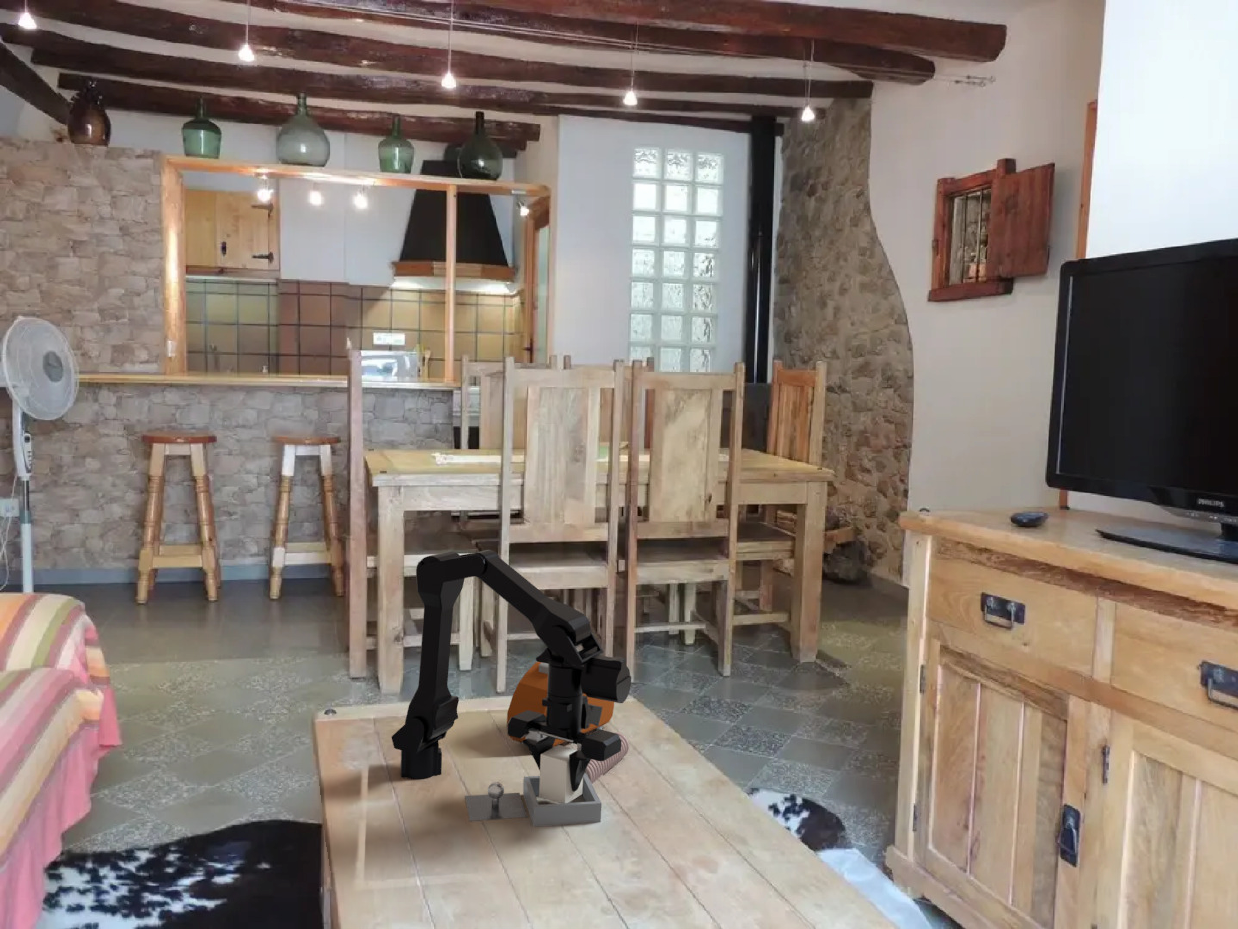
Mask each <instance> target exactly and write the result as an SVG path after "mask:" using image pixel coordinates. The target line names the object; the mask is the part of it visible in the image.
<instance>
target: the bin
mask: <svg viewBox="0 0 1238 929" xmlns="http://www.w3.org/2000/svg"><path fill="white" fill-rule="evenodd" d="M539 785H540V775H530V776H523V785H522V796H523V798H524V801H525V802H524V803H525V805H526V807H527V811H528V814H529V817H530V820H531V823H532V827H548V826H563V825H564V826H565V825H575V824H591V823H593V824H594V823H601V820H602V800H600V797H599V795H598V793H597V792H596V789H595V787H594V785H593V783H591V781H590V780H589V778H588V775H587V772H585V773H584V775H583V787H582V794H581V795H582V796H583V799H584V800H585V801H580V802H579V801H577V802H576V801H575V802H569V803H561V804H560V803H549V804H539V802H538V798H537V797H539Z"/></svg>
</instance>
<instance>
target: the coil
mask: <svg viewBox="0 0 1238 929" xmlns="http://www.w3.org/2000/svg"><path fill="white" fill-rule="evenodd" d="M615 733H616V734H618V735H619V737H620V738H621V751H620V752H618V753H617V754H615V755H613V756H611V757H610V758H608V759H606V760H605V761H597V760H593V759H591V760H590V762H589V764H588V766H587V768H586V770H585V773H586V774H587V776H588V778H589V780H590V781H591V783H592V784H594V783H595V782H596V781H597V780H598V779H599V778H600V777H602V776H604V775H605V774H606V773H607V772H608V771H609V770H611V769H612V768H613V767H614V766H615V765H616V764H617V763H618V762H620V761H622V759H624V758H625V756H626V755H627V754H628V752H629V750H630V745H629V744H630V743H629V740H628V739H627V737H626V736H625V735H624V734H623V733H620V732H615Z"/></svg>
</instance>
